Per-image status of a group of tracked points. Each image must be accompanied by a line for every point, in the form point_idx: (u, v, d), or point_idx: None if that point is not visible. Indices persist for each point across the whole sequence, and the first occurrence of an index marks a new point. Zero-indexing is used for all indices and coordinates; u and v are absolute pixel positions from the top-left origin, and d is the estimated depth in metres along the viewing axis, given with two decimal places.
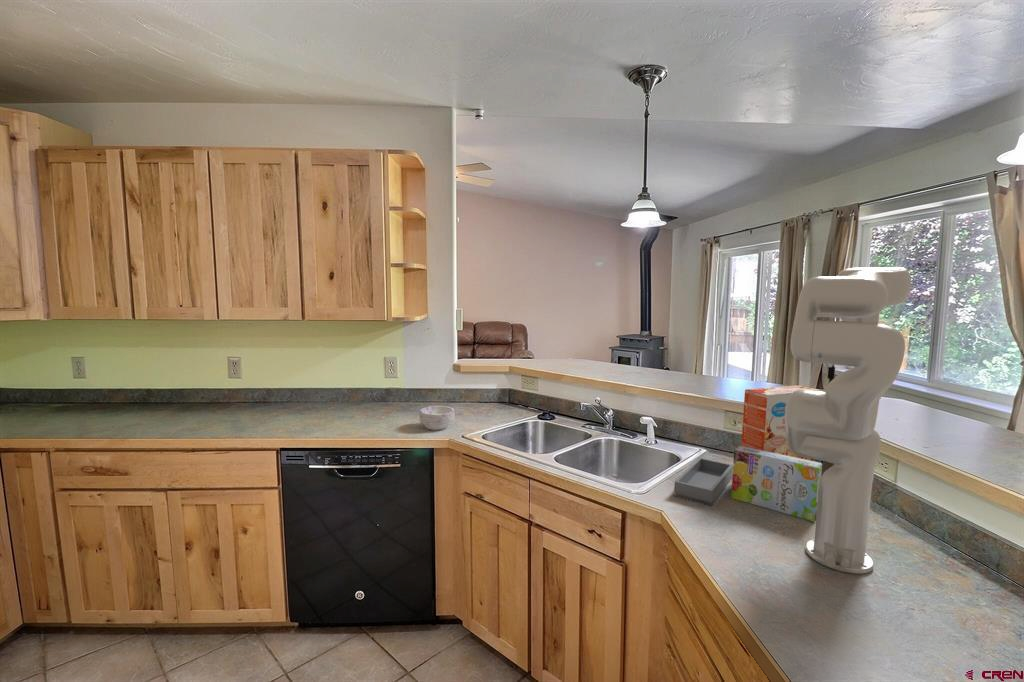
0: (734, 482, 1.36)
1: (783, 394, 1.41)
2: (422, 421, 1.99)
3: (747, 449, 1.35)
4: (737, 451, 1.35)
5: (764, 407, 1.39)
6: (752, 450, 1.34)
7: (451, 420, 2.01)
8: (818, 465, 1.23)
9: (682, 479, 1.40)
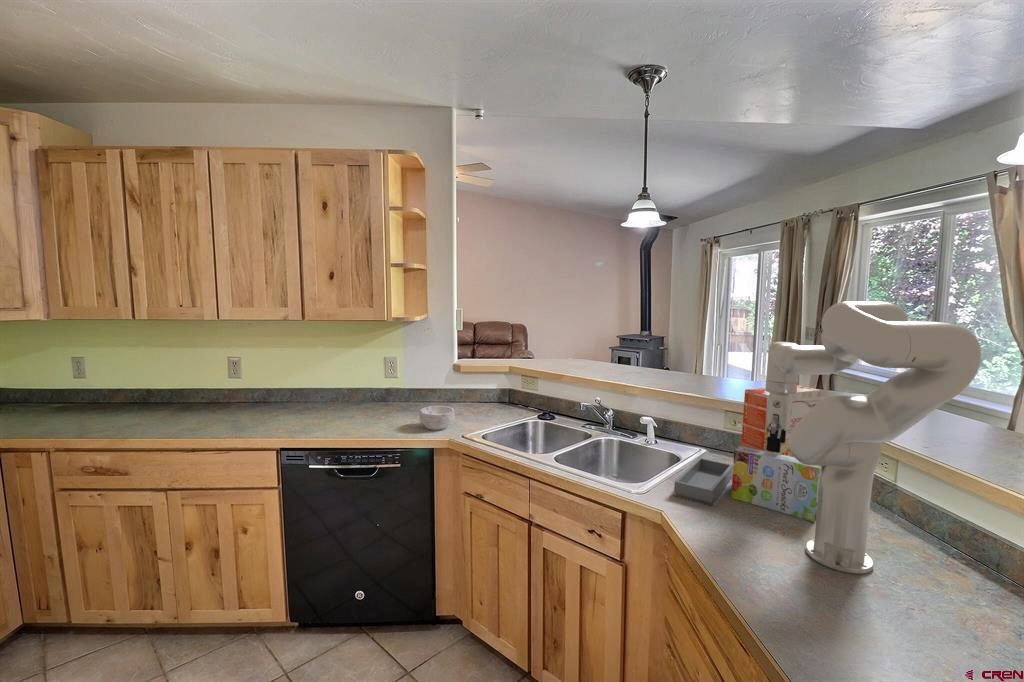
0: (734, 482, 1.36)
1: None
2: (422, 421, 1.99)
3: (747, 449, 1.35)
4: (737, 451, 1.35)
5: (764, 407, 1.39)
6: (752, 450, 1.34)
7: (451, 420, 2.01)
8: None
9: (682, 479, 1.40)
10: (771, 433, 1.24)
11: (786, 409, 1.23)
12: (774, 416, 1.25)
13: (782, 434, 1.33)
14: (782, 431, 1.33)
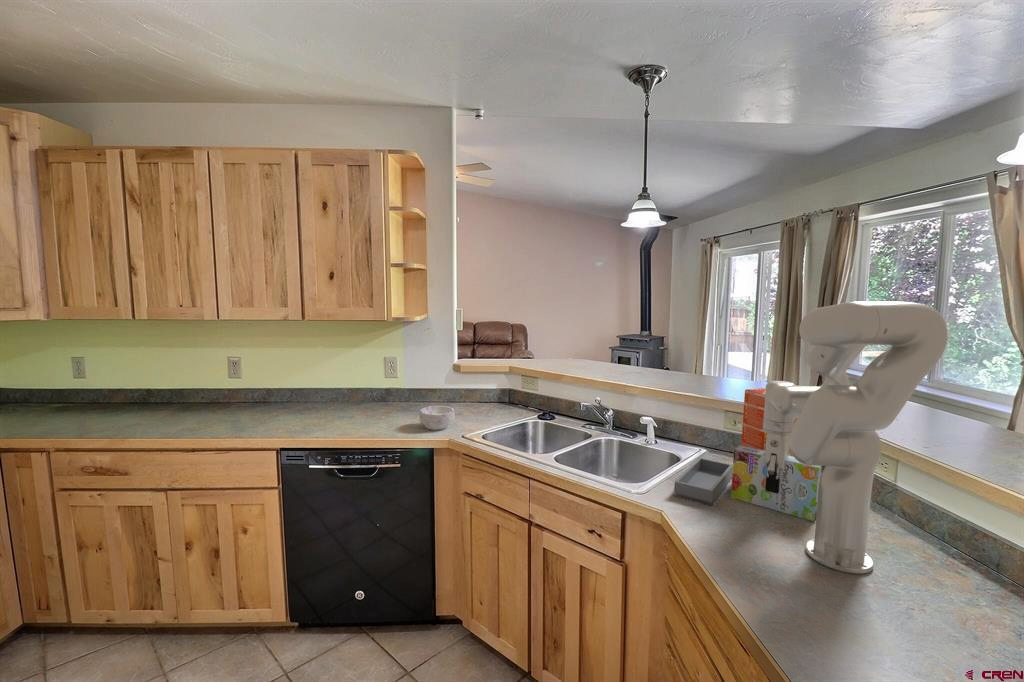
0: (734, 482, 1.36)
1: None
2: (422, 421, 1.99)
3: (747, 449, 1.35)
4: (737, 451, 1.35)
5: None
6: (752, 450, 1.34)
7: (451, 420, 2.01)
8: None
9: (682, 479, 1.40)
10: (770, 474, 1.26)
11: (783, 449, 1.24)
12: (772, 457, 1.26)
13: None
14: None
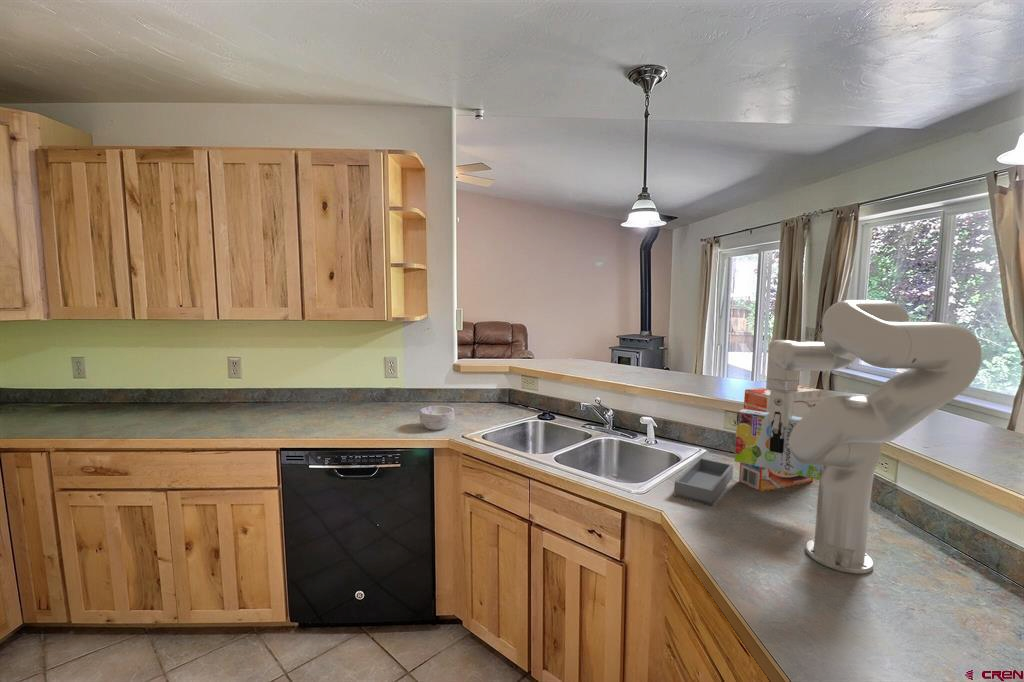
0: (737, 445, 1.34)
1: None
2: (422, 421, 1.99)
3: (750, 411, 1.33)
4: (740, 413, 1.33)
5: (764, 407, 1.39)
6: (755, 412, 1.32)
7: (451, 420, 2.01)
8: None
9: (682, 479, 1.40)
10: (774, 433, 1.24)
11: (787, 407, 1.23)
12: (776, 416, 1.24)
13: None
14: None
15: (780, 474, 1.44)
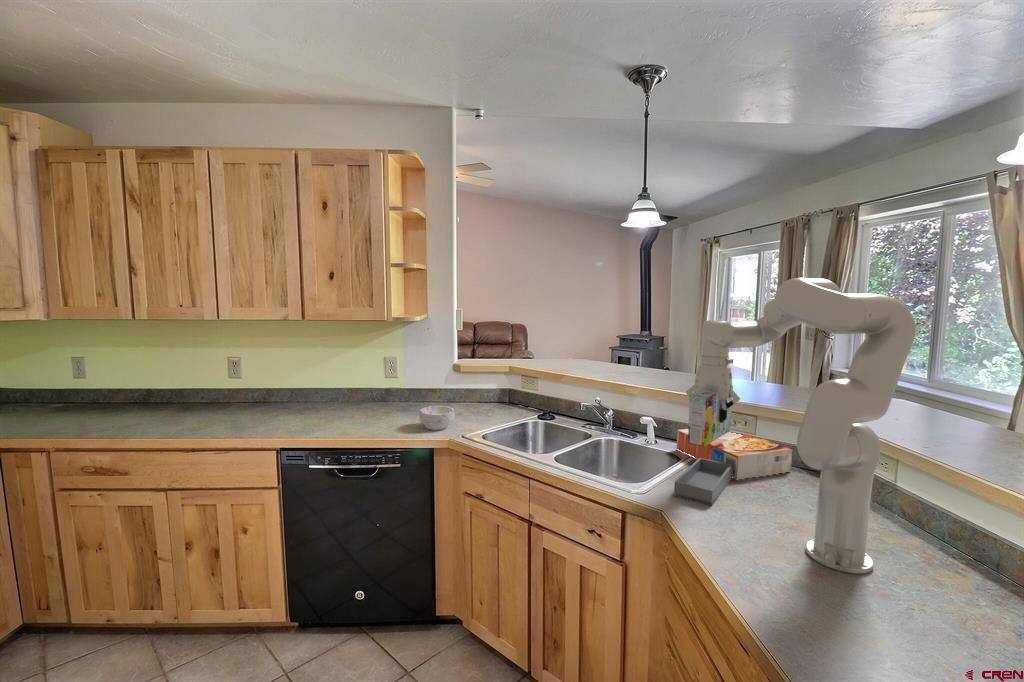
0: (706, 430, 1.33)
1: None
2: (422, 421, 1.99)
3: (702, 393, 1.35)
4: (707, 397, 1.32)
5: (684, 434, 1.73)
6: (704, 392, 1.36)
7: (451, 420, 2.01)
8: None
9: (682, 479, 1.40)
10: None
11: None
12: (731, 389, 1.37)
13: None
14: None
15: (746, 449, 1.55)
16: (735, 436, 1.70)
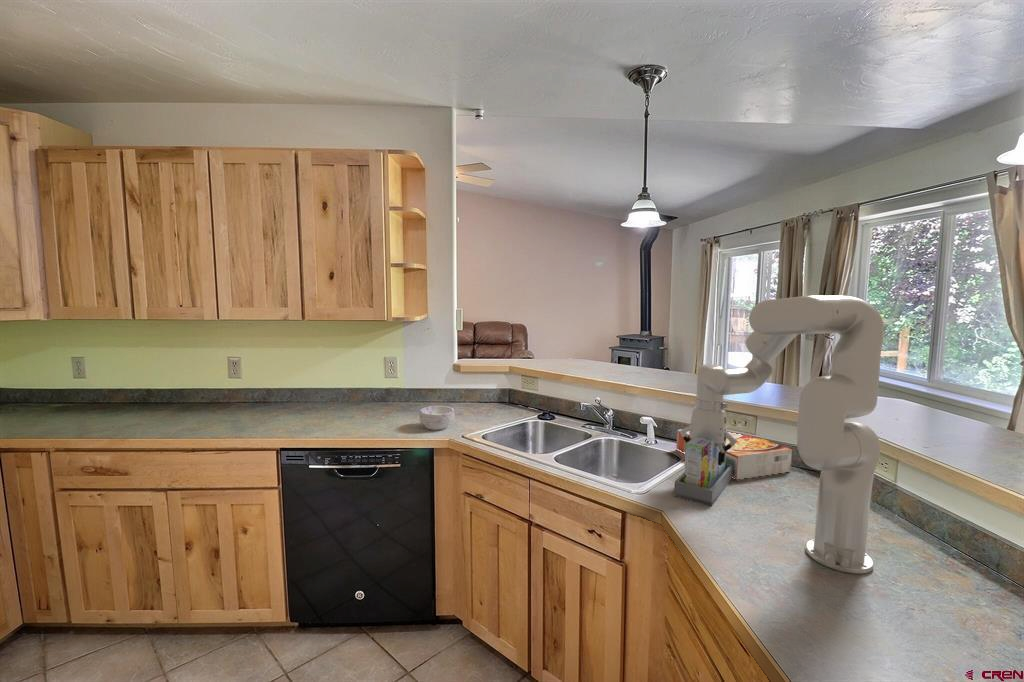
0: (701, 479, 1.35)
1: None
2: (422, 421, 1.99)
3: (698, 442, 1.37)
4: (703, 447, 1.34)
5: None
6: (699, 441, 1.38)
7: (451, 420, 2.01)
8: None
9: (682, 479, 1.40)
10: None
11: None
12: (726, 432, 1.39)
13: None
14: None
15: (746, 449, 1.56)
16: (735, 436, 1.70)
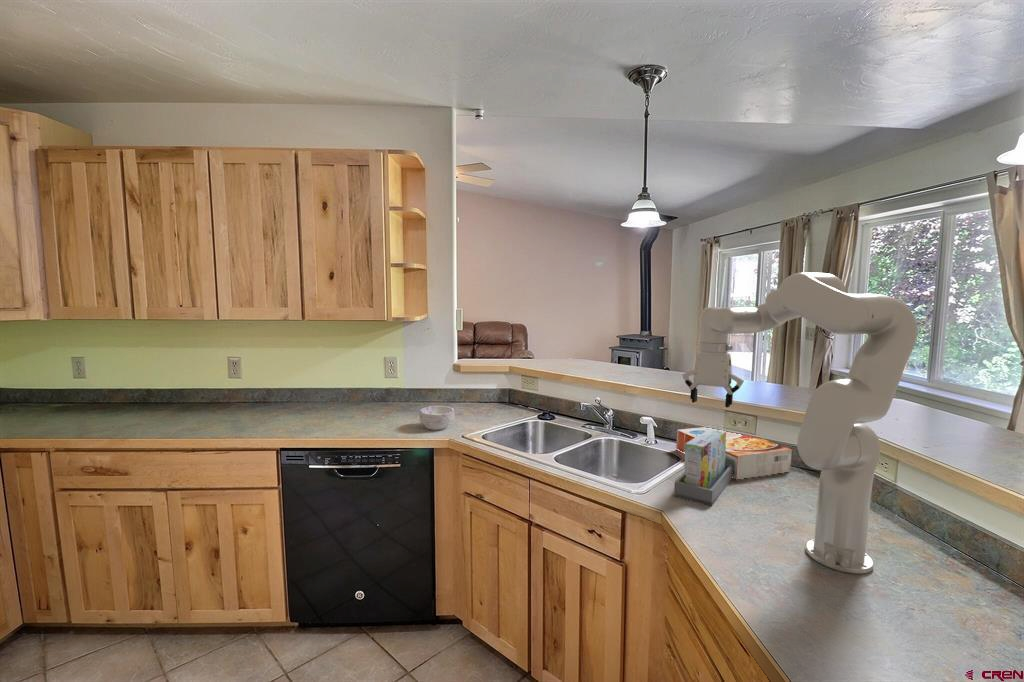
0: (701, 479, 1.35)
1: (692, 428, 1.79)
2: (422, 421, 1.99)
3: (697, 442, 1.37)
4: (703, 447, 1.34)
5: (683, 434, 1.74)
6: (699, 441, 1.38)
7: (451, 420, 2.01)
8: (720, 430, 1.50)
9: (682, 479, 1.40)
10: (737, 389, 1.36)
11: None
12: (732, 374, 1.36)
13: (696, 393, 1.44)
14: (696, 390, 1.44)
15: (746, 449, 1.56)
16: (735, 435, 1.70)
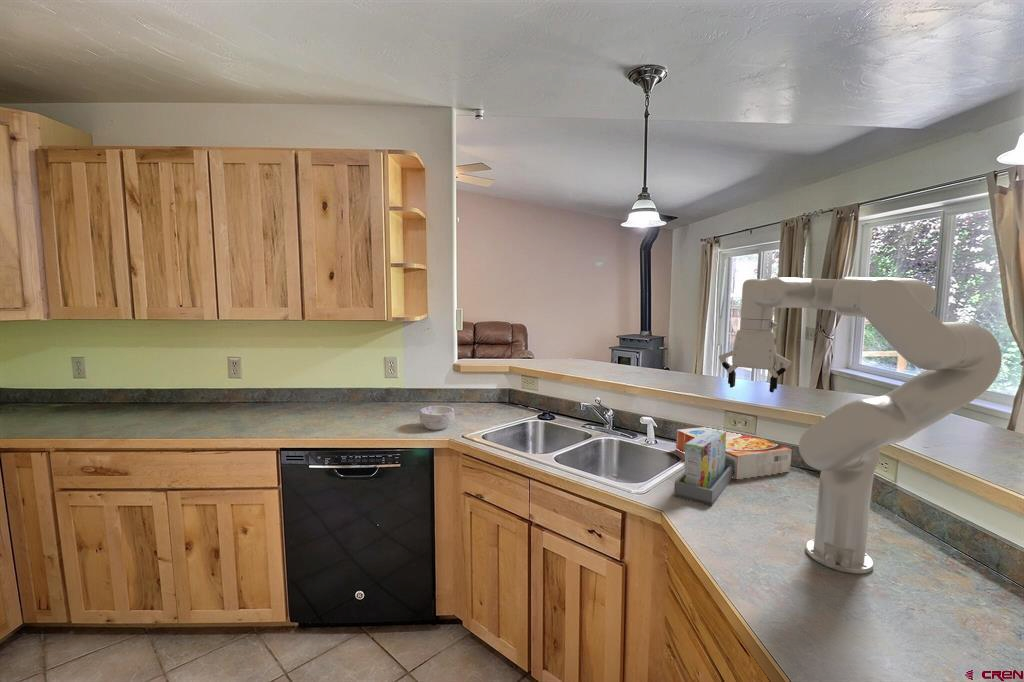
0: (701, 479, 1.35)
1: (691, 428, 1.79)
2: (422, 421, 1.99)
3: (697, 442, 1.37)
4: (703, 447, 1.34)
5: (683, 434, 1.74)
6: (699, 441, 1.38)
7: (451, 420, 2.01)
8: (720, 430, 1.50)
9: (682, 479, 1.40)
10: (784, 371, 1.20)
11: None
12: (777, 354, 1.20)
13: (735, 377, 1.28)
14: (735, 374, 1.28)
15: (745, 449, 1.56)
16: (735, 435, 1.70)
